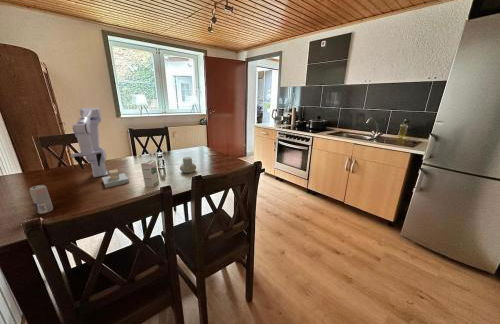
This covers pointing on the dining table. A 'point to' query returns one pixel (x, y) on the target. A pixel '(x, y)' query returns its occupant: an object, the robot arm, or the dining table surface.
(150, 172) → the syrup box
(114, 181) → the grey-blue block
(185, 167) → the air freshener
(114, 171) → the birch cube
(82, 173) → the dining table surface
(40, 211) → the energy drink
